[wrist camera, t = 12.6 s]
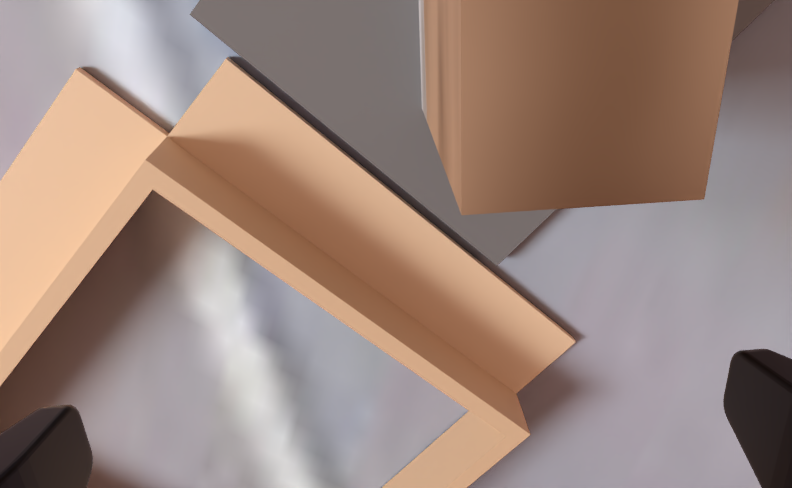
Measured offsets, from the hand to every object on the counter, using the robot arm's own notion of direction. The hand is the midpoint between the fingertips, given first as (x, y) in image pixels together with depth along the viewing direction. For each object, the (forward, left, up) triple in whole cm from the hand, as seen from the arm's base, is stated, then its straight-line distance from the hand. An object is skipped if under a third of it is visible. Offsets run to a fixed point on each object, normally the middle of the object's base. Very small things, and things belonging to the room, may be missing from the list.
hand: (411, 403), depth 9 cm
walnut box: (0, -5, -12) cm, 13 cm away
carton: (-1, +12, -12) cm, 17 cm away
